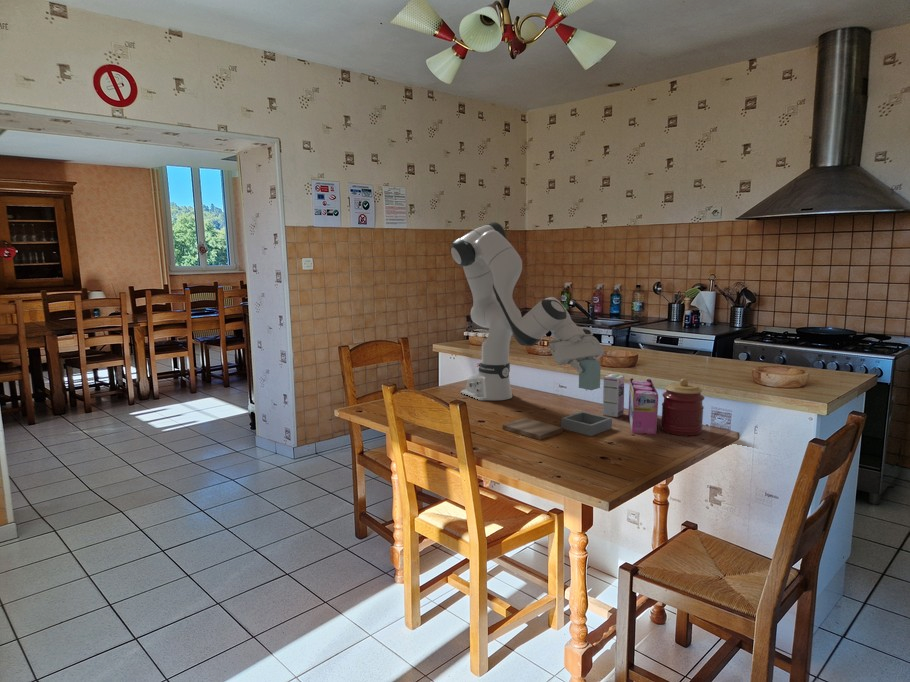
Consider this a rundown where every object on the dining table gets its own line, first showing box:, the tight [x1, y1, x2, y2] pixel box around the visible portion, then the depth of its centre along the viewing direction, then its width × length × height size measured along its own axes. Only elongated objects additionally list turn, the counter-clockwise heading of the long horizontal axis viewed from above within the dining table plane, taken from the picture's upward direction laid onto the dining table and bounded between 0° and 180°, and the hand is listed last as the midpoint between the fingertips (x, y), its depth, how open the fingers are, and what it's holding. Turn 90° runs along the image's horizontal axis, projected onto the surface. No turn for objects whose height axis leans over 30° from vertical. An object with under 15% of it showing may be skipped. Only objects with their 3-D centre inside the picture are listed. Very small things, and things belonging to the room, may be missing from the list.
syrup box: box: [602, 373, 625, 418], centre depth 211 cm, size 6×6×14 cm
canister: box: [660, 378, 705, 436], centre depth 192 cm, size 13×13×18 cm
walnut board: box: [502, 417, 564, 441], centre depth 194 cm, size 16×12×2 cm
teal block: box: [578, 359, 602, 391], centre depth 194 cm, size 5×5×9 cm
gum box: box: [627, 377, 659, 435], centre depth 201 cm, size 24×8×14 cm, turn 167°
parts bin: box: [560, 411, 613, 437], centre depth 196 cm, size 12×12×4 cm
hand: (589, 370), depth 194 cm, fingers closed on teal block, 5 cm apart
